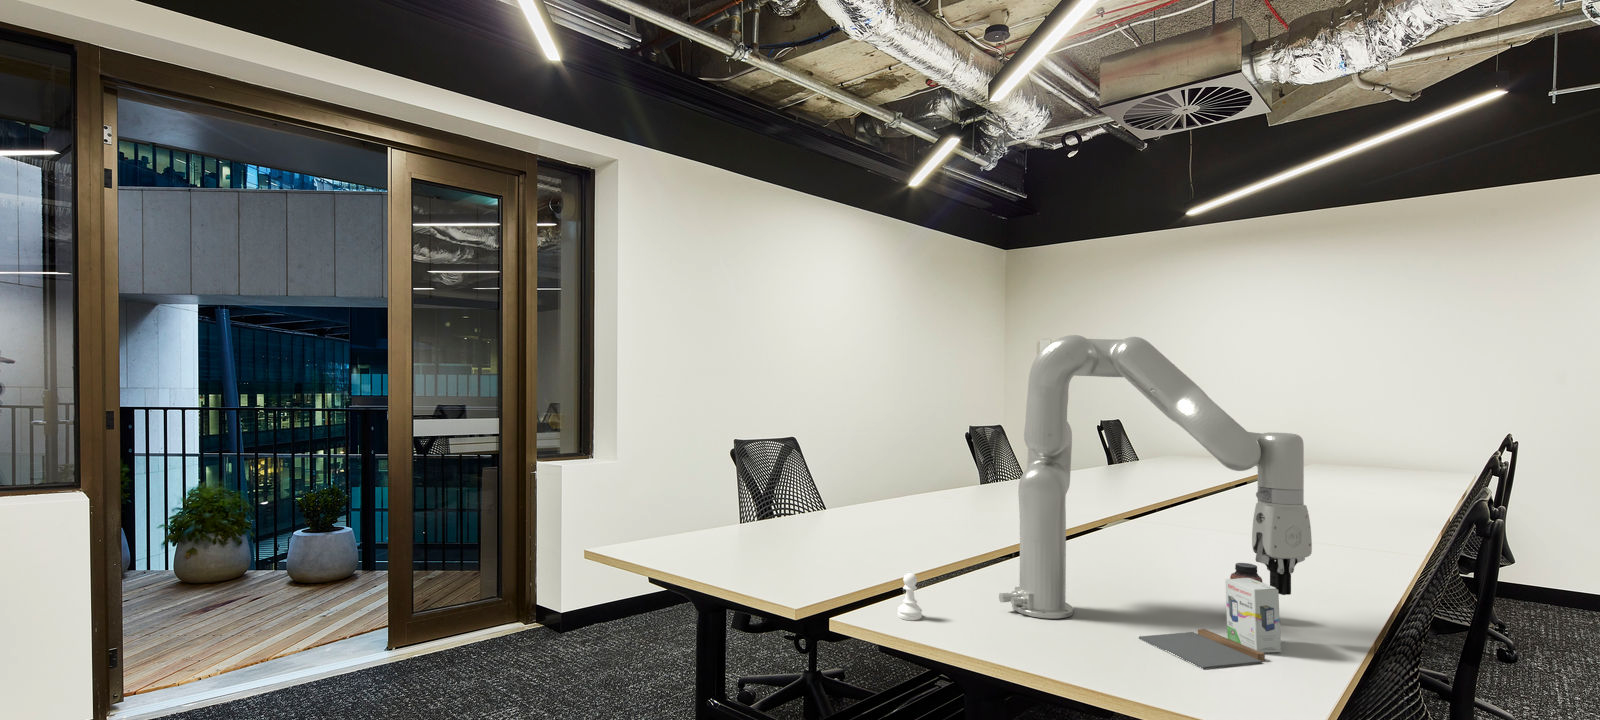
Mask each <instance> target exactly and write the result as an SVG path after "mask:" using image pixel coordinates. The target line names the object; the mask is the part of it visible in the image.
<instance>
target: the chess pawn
mask: <svg viewBox="0 0 1600 720" xmlns="http://www.w3.org/2000/svg"><path fill="white" fill-rule="evenodd" d="M917 578H918V577H917V576H916V574H914V573H911V572H909V573H906V574H905V575H904V576H903V578H902V579H903V584H904V586H903V587H902V588H903V590H905V591H906V592H905V598H904V599H903V600H902V602H903V603H902V604H900V605H899V606H898V608H897V618H899V619H901V620H905V621H918V620H921V619H922V618H923V613H922V611H923V609H922V608H921V607H920V606H919V604H918V600H917V599H915V592H914V591H917V589H918V587H917V586H916V585H917V582H918V579H917Z"/></svg>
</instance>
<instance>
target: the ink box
mask: <svg viewBox="0 0 1600 720" xmlns="http://www.w3.org/2000/svg"><path fill="white" fill-rule="evenodd" d="M1279 595H1280V594H1278V590H1277V589H1276V588H1275V587H1272V586H1270V584H1266V583H1264V582H1263V581H1262V582H1259V581H1257V580H1254V579H1251V578H1238V579H1230V578H1226V579H1225V601H1226V602H1225V603H1226V605H1225V607H1226V608H1225V609H1226V610H1225V611H1226V629H1227V630H1226V633H1227V637H1226V638H1227V639H1230V640H1232V641H1235V642H1237V643H1240V644H1242V645H1245V646H1247V647H1249V648H1252V649H1254V650H1257V651H1259V652H1262V653H1264V654H1266V653H1267V654H1268V653H1269V654H1270V653H1281V652H1282V650H1281V649H1282V648H1281V625H1280V624H1281V622H1280V621H1281V620H1280V619H1281V618H1280V598H1279Z"/></svg>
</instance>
